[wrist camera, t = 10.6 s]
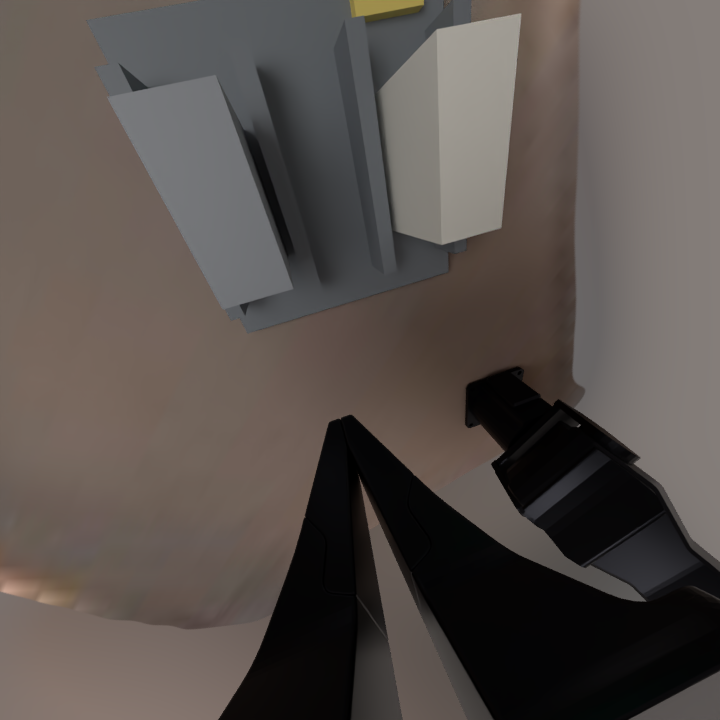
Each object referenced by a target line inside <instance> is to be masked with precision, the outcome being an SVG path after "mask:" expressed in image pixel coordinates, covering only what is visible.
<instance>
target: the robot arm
mask: <svg viewBox="0 0 720 720" xmlns="http://www.w3.org/2000/svg"><path fill="white" fill-rule="evenodd" d="M523 373H524V370H523V369H522V368H520V367H517V368H514V369H511V370H508V371H506V372H503V373H500V374H497V375H494V376H491V377H489V378H486V379H483V380H480V381H477V382H475V383H472V384H469V385H468V386H467V388H466V417H465V425H466V426H467V427H468V428H472V427H475V426H477V425H480V424H481V425H482V426H483V427H484V429H485V430H486V431H487V432H488V433H489V434H490V435H491V436H492V438H493V439H494V440H495V441H496V442H497V443H498V444H499V445H500V446H501V448H502V449H503V450H504V451H505V452H504V453H503V454H502V455H501V456H500V458H498V459H497V460H495V461H494V462H492V464H491V465H492V467H493V469H494V470H495V473H496V475H497V476H498V478H499V480H500V482H501V483H502V485H503V487H504V489H505V490H506V492H507V494H508V495H509V497H510V499H511V501H512V502H513V504H514V506H515V507H516V509H517V510H518V511H519V513H520V514H521V515H522V516H524V517H526V518H527V519H529V520H530V521H531V522H532V523H534V524H535V525H536V526H537V527H539V528H541V529H543V530H544V531H545V532H546V533H547V535H548V536H549V537H550V538H551V539H552V540H553V542H554V543H555V544H556V546H557V547H558V548H559V549H560V551H561V552H562V553H563V554H564V556H566V557H567V558H568V559H570V560H572V561H573V562H575V563H576V564H578V565H579V566H581V567H584V568H586V567H588V566H589V565H592V566H594V567H596V568H598V569H600V570H602V571H604V572H606V573H608V574H609V575H611V576H613V577H616V578H617V579H619V580H621V581H623V582H625V583H627V584H629V585H630V586H632V587H633V588H634V589H635V590H636V591H637V592H638V593H639V594H640V595H641V596H642V597H643V598H644V599H645V600H646V601H647V602H639V601H638V602H637V601H631V600H626V599H621V598H618V597H615V596H613V595H610V594H607V593H605V592H602V591H600V590H598V589H596V588H593V587H591V586H589V585H586V584H584V583H582V582H580V581H577V580H575V579H573V578H570V577H568V576H566V575H563V574H561V573H559V572H556V571H554V570H552V569H549V568H547V567H545V566H542V565H540V564H538V563H536V562H533V561H531V560H529V559H527V558H524V557H522V556H520V555H518V554H516V553H514V552H513V551H511V550H509V549H508V548H506V547H505V546H503V545H502V544H500V543H498V542H497V541H496V540H494V539H493V538H492V537H490V536H489V535H487V534H486V533H485V532H484V531H482V530H481V529H480V528H478V527H477V526H476V525H474V524H473V523H472V522H470V521H469V520H468V519H466V518H465V517H464V516H462V515H461V514H460V513H459V512H457V511H456V510H454V509H453V508H452V507H451V506H449V505H448V504H447V503H446V502H444V501H443V500H442V499H441V498H439V497H438V496H437V495H436V494H435V493H434V492H432V491H431V490H430V489H429V488H428V487H427V486H426V485H425V484H424V483H423V482H421V481H420V480H419V479H418V478H417V477H416V476H414V474H413V473H412V472H411V471H410V470H409V469H408V468H407V467H406V466H405V465H404V464H403V463H402V462H401V461H399V460H398V459H397V458H396V457H395V456H394V455H393V454H392V453H391V452H390V451H389V450H388V449H387V448H386V447H385V446H384V445H383V444H382V443H381V442H380V441H379V440H378V439H377V438H376V437H375V436H373V435H372V434H371V433H370V432H369V431H368V430H367V429H366V428H365V427H364V426H363V425H362V424H361V423H360V422H359V421H358V420H357V419H356V418H355V417H354V416H353V415H348V416H345V417H342V418H341V420H340V419H336V420H333V421H331V422H329V424H328V428H327V431H326V435H325V439H324V443H323V447H322V451H321V455H320V459H319V462H318V466H317V470H316V474H315V478H314V482H313V486H312V490H311V494H310V497H309V501H308V505H307V509H306V513H305V517H306V518H304V520H303V524H302V528H301V532H300V535H299V539H298V542H297V546H296V549H295V553H294V556H293V558H292V561H291V564H290V567H289V570H288V573H287V576H286V579H285V581H284V584H283V587H282V590H281V592H280V595H279V598H278V601H277V603H276V606H275V609H274V611H273V614H272V617H271V620H270V622H269V625H268V628H267V631H266V633H265V636H264V639H263V641H262V644H261V646H260V649H259V651H258V653H257V655H256V657H255V660H254V661H253V664H252V666H251V667H250V669H249V671H248V673H247V675H246V677H245V678H244V680H243V681H242V683H241V685H240V686H239V688H238V689H237V691H236V693H235V694H234V696H233V697H232V699H231V700H230V702H229V704H228V705H227V707H226V709H225V710H224V711H223V713H222V715H221V716H220V718H219V719H218V720H402V714H401V709H400V703H399V698H398V692H397V686H396V681H395V675H394V669H393V664H392V658H391V652H390V647H389V643H388V636H387V630H386V625H385V619H384V614H383V608H382V603H381V596H380V592H379V585H378V580H377V574H376V568H375V563H374V558H373V551H372V546H371V540H370V534H369V529H368V523H367V518H366V512H365V506H364V501H363V495H362V489H361V484H360V480H361V482H362V484H363V487H364V489H365V491H366V493H367V496H368V498H369V500H370V502H371V505H372V507H373V509H374V511H375V514H376V516H377V518H378V520H379V523H380V525H381V527H382V529H383V531H384V534H385V536H386V538H387V540H388V543H389V545H390V547H391V549H392V552H393V554H394V556H395V558H396V561H397V563H398V565H399V567H400V570H401V571H402V574H403V576H404V578H405V581H406V583H407V585H408V587H409V590H410V592H411V594H412V596H413V599H414V601H415V603H416V605H417V608H418V610H419V612H420V614H421V616H422V619H423V621H424V623H425V625H426V628H427V630H428V632H429V634H430V637H431V639H432V641H433V643H434V646H435V648H436V650H437V652H438V654H439V657H440V659H441V661H442V664H443V666H444V668H445V670H446V672H447V675H448V677H449V679H450V681H451V684H452V686H453V688H454V690H455V693H456V695H457V697H458V699H459V702H460V703H461V706H462V708H463V711H464V712H465V715H466V717H467V719H468V720H720V562H719V561H718V560H716V559H715V558H714V557H713V556H711V555H710V554H709V553H708V552H707V551H705V550H704V549H703V548H702V547H700V546H699V545H698V544H697V543H696V542H694V541H693V540H692V539H691V537H690V536H689V534H688V532H687V530H686V528H685V526H684V525H683V523H682V521H681V519H680V517H679V515H678V514H677V512H676V510H675V508H674V506H673V504H672V503H671V501H670V499H669V497H668V495H667V493H666V492H665V490H664V488H663V487H662V485H661V484H660V483H658V482H657V481H656V480H655V479H653V478H652V477H651V476H649V475H648V474H646V473H645V472H644V471H642V470H641V469H640V468H639V467H637V466H636V465H634V463H635V462H636V461H638V460H639V459H640V457H639V456H638V455H637V454H635V453H634V452H633V451H631V450H630V449H629V448H628V447H626V446H625V445H624V444H623V443H621V442H620V441H619V440H617V439H616V438H615V437H614V436H612V435H611V434H610V433H608V432H607V431H606V430H605V429H603V428H602V427H600V426H599V425H598V424H596V423H595V422H593V421H592V420H590V419H589V418H588V417H586V416H585V415H583V414H582V413H580V412H578V411H577V410H575V409H574V408H572V407H571V406H569V405H567V404H566V403H564V402H562V401H561V400H559V399H558V400H557V401H556V402H555V403H554V405H553V406H551V405H550V404H548V403H547V402H546V401H544V400H543V399H542V398H541V396H540V394H538V393H537V392H536V391H534V390H533V389H532V388H530V387H529V386H528V385H526V384H525V383H524V382H522V378H523ZM579 424H580V425H581V426H580V427H577V426H578V425H579ZM358 474H359V475H358ZM359 477H360V479H359Z"/></svg>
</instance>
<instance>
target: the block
mask: <svg viewBox="0 0 720 720" xmlns="http://www.w3.org/2000/svg"><path fill="white" fill-rule="evenodd" d="M520 23H521V13H520V14H515V15H510V16H504V17H499V18H494V19H489V20H483V21H478V22H473V23H467V24H462V25H457V26H451V27H446V28H441V29H436V31H435V32H434V33H433V34H432V35H431V36H430V37H429V38H428V39H427V40H426V41H425V42H424V43H423V44H422V45H421V46H420V47H419V48H418V50H417V51H416V52H415V53H414V54H413V55H412V56H411V57H410V58H409V59H408V60H407V61H406V62H405V63H404V64H403V65H402V66H401V67H400V68H399V70H398V71H397V72H396V73H395V74H394V75H393V76H392V77H391V78H390V79H389V80H388V81H387V82H386V83H385V84H384V85H383V86H382V87H381V89H380V90H379V91H378V92H377V93H376V94H375V95H374V96H375V103H376V111H377V119H378V127H379V135H380V142H381V150H382V158H383V166H384V174H385V181H386V189H387V197H388V205H389V213H390V220H391V228H392V230H393V231H396V232H399V233H403V234H406V235H409V236H413V237H416V238H420V239H423V240H426V241H430V242H433V243H437V244H440V245H444V244H447V243H451V242H454V241H458V240H461V239H465V238H468V237H472V236H475V235H479V234H482V233H486V232H489V231H493V230H496V229H500V228H501V226H502V215H503V205H504V194H505V183H506V173H507V162H508V151H509V140H510V130H511V119H512V108H513V98H514V87H515V76H516V65H517V55H518V44H519V33H520Z"/></svg>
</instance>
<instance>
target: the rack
mask: <svg viewBox="0 0 720 720" xmlns="http://www.w3.org/2000/svg"><path fill="white" fill-rule="evenodd" d="M86 21H87V23H88V25H89V27H90V29H91V31H92V33H93V35H94V37H95V39H96V40H97V42H98V44H99V46H100V48H101V50H102V52H103V54H104V56H105V58H106V60H107V62H108V64H107V65H102V66H97V67H95V69H96V71H97V73H98V75H99V77H100V79H101V80H102V82H103V84H104V86H105V88H106V90H107V92H108V93H109V95H110V97H107V98H108V100H109V102H110V104H111V105H112V107H113V109H114V111H115V113H116V115H117V116H118V118H119V120H120V122H121V124H122V126H123V127H124V129H125V131H126V133H127V135H128V137H129V139H130V140H131V142H132V144H133V146H134V148H135V150H136V151H137V153H138V155H139V157H140V159H141V161H142V162H143V164H144V166H145V168H146V170H147V172H148V173H149V175H150V177H151V179H152V181H153V183H154V184H155V186H156V188H157V190H158V192H159V194H160V195H161V197H162V199H163V201H164V203H165V205H166V206H167V208H168V210H169V212H170V214H171V216H172V217H173V219H174V221H175V223H176V225H177V227H178V228H179V230H180V232H181V234H182V236H183V238H184V239H185V241H186V243H187V245H188V247H189V249H190V250H191V252H192V254H193V256H194V258H195V260H196V261H197V263H198V265H199V267H200V269H201V271H202V272H203V274H204V276H205V278H206V280H207V282H208V283H209V285H210V287H211V289H212V291H213V293H214V295H215V296H216V298H217V300H218V302H219V304H220V306H221V307H222V309H225V310H226V312H227V314H228V316H229V318H230V320H231V321H232V320H235V319H238V318H240V320H241V322H242V324H243V326H244V327H245V329H246V331H247V333H251V332H254V331H257V330H260V329H264V328H267V327H270V326H273V325H277V324H280V323H283V322H287V321H290V320H293V319H296V318H300V317H303V316H306V315H309V314H313V313H316V312H319V311H323V310H326V309H329V308H332V307H336V306H339V305H342V304H346V303H349V302H352V301H355V300H359V299H362V298H365V297H368V296H372V295H375V294H378V293H382V292H385V291H388V290H391V289H395V288H398V287H401V286H404V285H408V284H411V283H414V282H418V281H421V280H424V279H427V278H431V277H434V276H437V275H441V274H444V273H447V272H448V252H450V253H453V254H456V253H459V252H463V251H466V247H467V238H465V239H461V240H458V241H454V242H451V243H447V244H444V245H440V244H437V243H433V242H430V241H426V240H423V239H420V238H416V237H413V236H409V235H406V234H403V233H399V232H396V231H393V230H392V228H391V220H390V213H389V205H388V197H387V189H386V181H385V174H384V166H383V158H382V150H381V142H380V135H379V127H378V119H377V111H376V103H375V96H374V95H375V94H376V93H377V92H378V91H379V90H380V89H381V87H382V86H383V85H384V84H385V83H386V82H387V81H388V80H389V79H390V78H391V77H392V76H393V75H394V74H395V73H396V72H397V71H398V70H399V68H400V67H401V66H402V65H403V64H404V63H405V62H406V61H407V60H408V59H409V58H410V57H411V56H412V55H413V54H414V53H415V52H416V51H417V50H418V48H419V47H420V46H421V45H422V44H423V43H424V42H425V41H426V40H427V39H428V38H429V37H430V36H431V35H432V34H433V33H434V32H435V31H436V29H441V28H446V27H451V26H457V25H462V24H467V23H471V0H451V2H450V3H449V4H448V5H447V6H446V7H445V8H444V0H200V1H194V2H188V3H182V4H177V5H171V6H165V7H159V8H154V9H148V10H142V11H136V12H131V13H125V14H119V15H113V16H108V17H102V18H96V19H90V20H86Z"/></svg>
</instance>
